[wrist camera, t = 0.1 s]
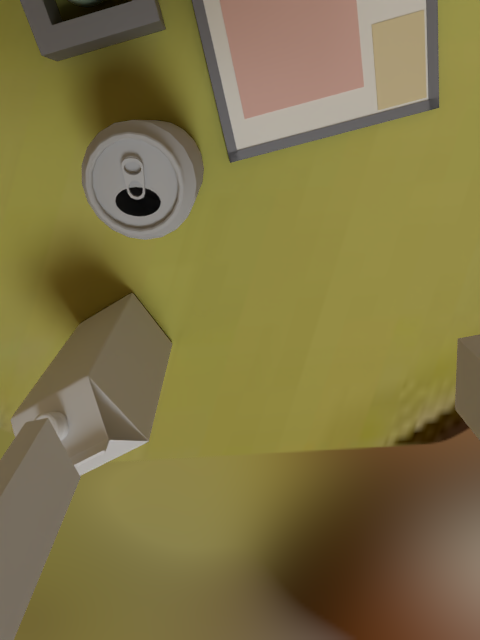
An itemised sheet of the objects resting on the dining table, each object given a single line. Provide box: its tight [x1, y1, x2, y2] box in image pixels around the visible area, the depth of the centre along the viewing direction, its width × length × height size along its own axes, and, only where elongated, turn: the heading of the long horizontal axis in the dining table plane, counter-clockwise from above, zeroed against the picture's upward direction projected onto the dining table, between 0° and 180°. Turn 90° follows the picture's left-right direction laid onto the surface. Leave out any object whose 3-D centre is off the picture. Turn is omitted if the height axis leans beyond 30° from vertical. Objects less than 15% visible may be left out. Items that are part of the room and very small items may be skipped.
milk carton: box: [11, 293, 172, 475], centre depth 34 cm, size 7×7×19 cm
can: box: [82, 120, 204, 240], centre depth 30 cm, size 8×8×12 cm
